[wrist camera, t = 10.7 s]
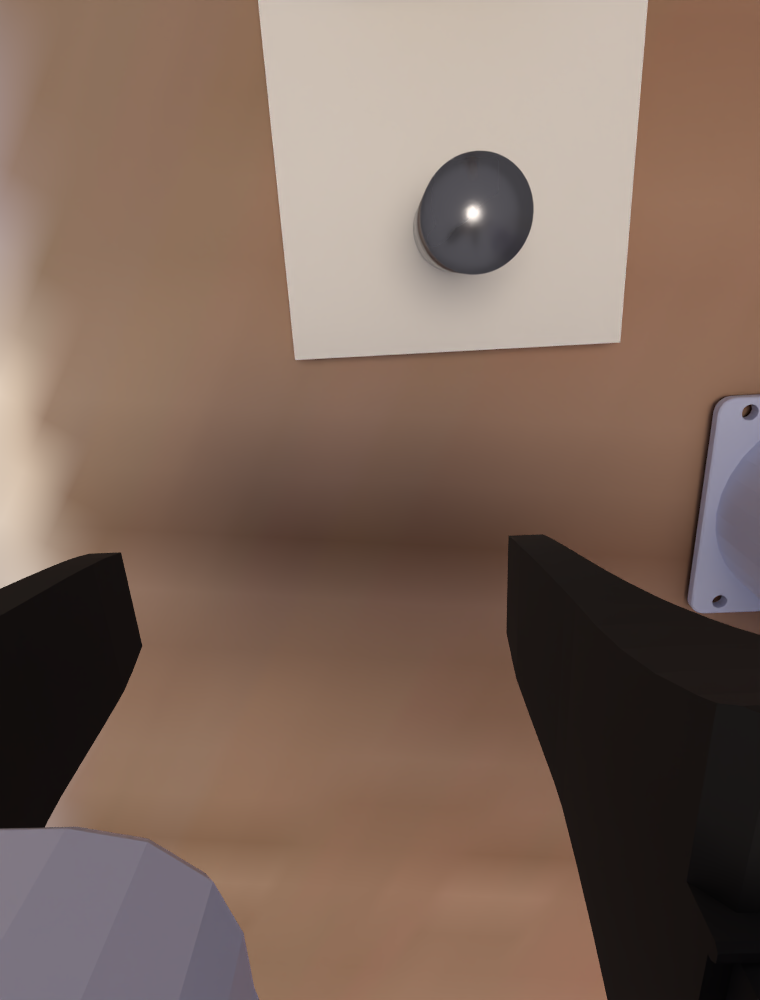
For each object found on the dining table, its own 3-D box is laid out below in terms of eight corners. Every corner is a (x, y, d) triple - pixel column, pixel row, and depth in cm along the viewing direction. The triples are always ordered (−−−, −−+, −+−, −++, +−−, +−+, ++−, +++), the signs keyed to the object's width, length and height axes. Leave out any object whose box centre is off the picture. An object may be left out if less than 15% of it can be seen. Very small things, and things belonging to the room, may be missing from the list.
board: (668, -446, 14) (692, -509, 13) (609, 338, 20) (622, 343, 19) (223, -400, 14) (209, -458, 13) (299, 355, 20) (294, 361, 19)
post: (491, 182, 18) (535, 146, 13) (490, 269, 19) (531, 271, 13) (410, 188, 18) (418, 154, 13) (413, 273, 19) (422, 278, 14)
